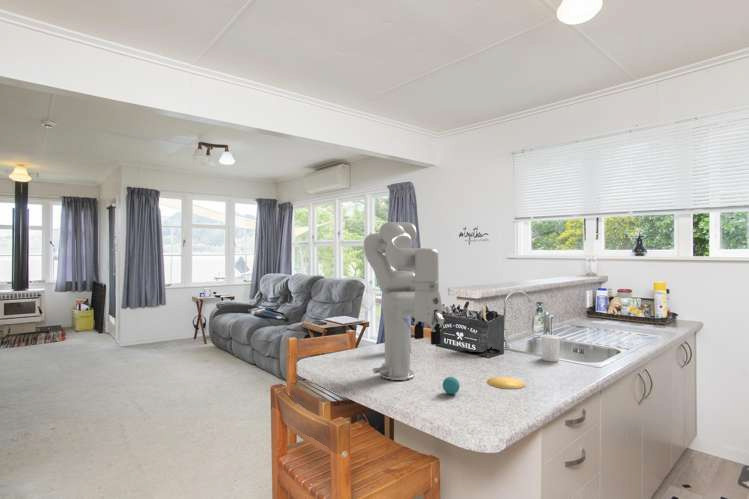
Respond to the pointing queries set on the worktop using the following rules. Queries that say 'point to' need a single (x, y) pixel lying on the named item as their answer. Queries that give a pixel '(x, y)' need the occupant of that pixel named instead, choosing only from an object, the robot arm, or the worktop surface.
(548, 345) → the white cup
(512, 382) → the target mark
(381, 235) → the robot arm
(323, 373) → the worktop surface
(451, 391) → the ball
